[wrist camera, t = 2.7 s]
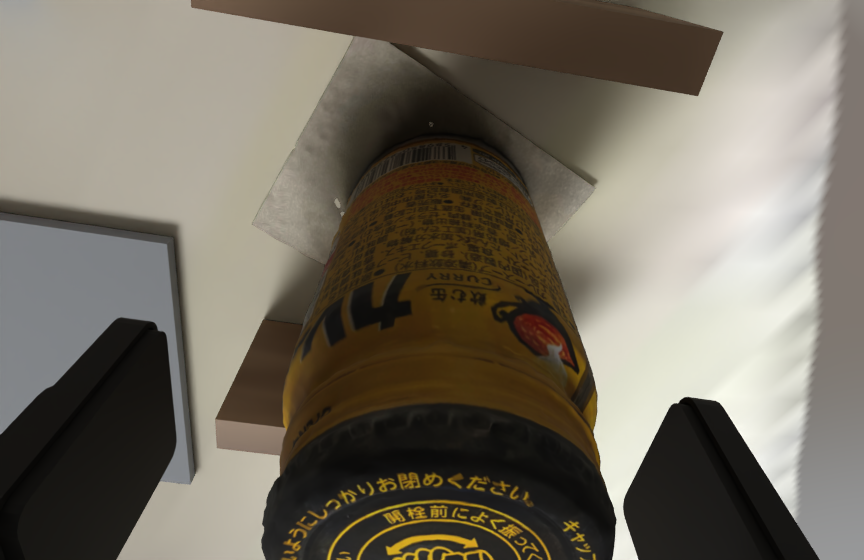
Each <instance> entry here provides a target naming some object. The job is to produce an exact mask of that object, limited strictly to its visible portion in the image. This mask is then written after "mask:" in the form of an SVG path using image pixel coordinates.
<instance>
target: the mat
mask: <svg viewBox="0 0 864 560" xmlns="http://www.w3.org/2000/svg"><path fill="white" fill-rule="evenodd" d="M120 317H123V318H130V319H137V320H144V321H151V322H154V323H155V324H156V325H157V328H158V331H163V332H165V334H166V336H167V343H168V353H169V363H170V374H171V384H172V394H173V405H174V415H175V425H176V436H177V443H176V449H175V452H174V455H173V458H172V460H171V462H170V464H169V465H168V467H167V469H166V471H165V473H164V474H163V476H162V478H161V480H160V481H164V482H173V483H182V484H191V482H192V480H193V478H194V476H195V471H194V460H193V449H192V438H191V427H190V416H189V405H188V394H187V383H186V372H185V361H184V350H183V339H182V328H181V317H180V306H179V295H178V284H177V273H176V262H175V251H174V240H173V237H168V236H161V235H154V234H147V233H140V232H133V231H126V230H119V229H113V228H106V227H99V226H92V225H85V224H78V223H71V222H64V221H57V220H51V219H44V218H37V217H30V216H23V215H16V214H9V213H2V212H0V435H1V434H2V433H3V431H4V430H5V429H6V428H7V427H8V426H9V425H10V424H11V423H12V422H13V421H14V420H15V419H16V418H17V417H18V416H19V415H20V414H21V413H22V411H23V410H24V409H25V408H26V407H27V406H28V405H29V404H30V403H31V402H32V401H33V400H34V399H35V398H36V397H37V396H38V395H39V394H40V393H41V392H42V391H44V390H45V389H46V388H48V387H51V386H53V385H54V384H55V383H56V382H57V381H58V380H59V379H60V378H61V377H62V376H63V375H64V374H65V373H66V372H67V370H68V369H69V368H70V367H71V366H72V365H73V364H74V363H75V362H76V361H77V360H78V359H79V358H80V357H81V355H82V354H83V353H84V352H85V351H86V350H87V349H88V348H89V347H90V346H91V345H92V344H93V343H94V342H95V341H96V339H97V338H98V337H99V336H100V335H101V334H102V333H103V332H104V331H105V330H106V329H107V328H108V327H109V326H110V324H111V323H112V322H113V321H115V320H116V319H117V318H120Z"/></svg>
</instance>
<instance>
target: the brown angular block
mask: <svg viewBox="0 0 864 560" xmlns="http://www.w3.org/2000/svg"><path fill="white" fill-rule="evenodd" d="M191 7H192V8H198V9H204V10H209V11H215V12H221V13H226V14H232V15H238V16H244V17H249V18H255V19H261V20H266V21H272V22H278V23H284V24H289V25H295V26H301V27H306V28H312V29H318V30H323V31H329V32H335V33H341V34H346V35H352V36H358V37H363V38H369V39H375V40H381V41H386V42H392V43H398V44H403V45H409V46H415V47H420V48H426V49H432V50H438V51H443V52H449V53H455V54H460V55H466V56H472V57H478V58H483V59H489V60H495V61H500V62H506V63H512V64H517V65H523V66H529V67H535V68H540V69H546V70H552V71H557V72H563V73H569V74H575V75H580V76H586V77H592V78H597V79H603V80H609V81H614V82H620V83H626V84H632V85H637V86H643V87H649V88H654V89H660V90H666V91H672V92H677V93H683V94H689V95H694V96H698V95H699V92H700V90H701V87H702V85H703V82H704V80H705V77H706V75H707V72H708V70H709V67H710V65H711V62H712V60H713V57H714V55H715V52H716V50H717V47H718V45H719V42H720V40H721V37H722V34H723V32H722V31H719V30H715V29H711V28H708V27H704V26H701V25H697V24H693V23H690V22H686V21H683V20H679V19H676V18H672V17H668V16H665V15H661V14H658V13H654V12H651V11H647V10H643V9H639V8H634V7H629V6H623V5H618V4H612V3H607V2H602V1H596V0H191ZM302 328H303V325H299V324H292V323H285V322H277V321H270V320H263V321H262V323H261V325H260V327H259V329H258V331H257V333H256V336H255V338H254V340H253V342H252V344H251V346H250V348H249V350H248V352H247V354H246V356H245V358H244V361H243V363H242V365H241V367H240V369H239V371H238V373H237V375H236V377H235V379H234V381H233V384H232V386H231V388H230V390H229V392H228V394H227V396H226V398H225V400H224V402H223V404H222V406H221V409H220V411H219V413H218V415H217V417H216V419H215V423H216V440H217V448H220V449H229V450H237V451H246V452H254V453H263V454H271V455H279V456H280V454H281V451H282V443H283V438H284V436H285V434H286V428H285V426H284V424H283V411H282V399H283V390H284V382H285V378H286V375H287V372H288V369H289V366H290V362H291V359H292V356H293V353H294V350H295V345H296V343H297V341H298V339H299V337H300V334H301V331H302Z"/></svg>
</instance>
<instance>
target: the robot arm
mask: <svg viewBox="0 0 864 560" xmlns="http://www.w3.org/2000/svg"><path fill="white" fill-rule="evenodd" d="M176 443H177V436H176V425H175V415H174V405H173V394H172V384H171V374H170V363H169V353H168V343H167V336H166V334H165V332H163V331H158V328H157V325H156V324H155V323H154V322H151V321H144V320H137V319H130V318H123V317H120V318H117V319H116V320H115V321H113V322H112V323H111V324H110V326H109V327H108V328H107V329H106V330H105V331H104V332H103V333H102V334H101V335H100V336H99V337H98V338H97V339H96V341H95V342H94V343H93V344H92V345H91V346H90V347H89V348H88V349H87V350H86V351H85V352H84V353H83V354H82V355H81V357H80V358H79V359H78V360H77V361H76V362H75V363H74V364H73V365H72V366H71V367H70V368H69V369H68V370H67V372H66V373H65V374H64V375H63V376H62V377H61V378H60V379H59V380H58V381H57V382H56V383H55V384H54V385H53V386H51V387H48V388H46V389H45V390H44V391H42V392H41V393H40V394H39V395H38V396H37V397H36V398H35V399H34V400H33V401H32V402H31V403H30V404H29V405H28V406H27V407H26V408H25V409H24V410H23V411H22V413H21V414H20V415H19V416H18V417H17V418H16V419H15V420H14V421H13V422H12V423H11V424H10V425H9V426H8V427H7V428H6V429H5V430H4V431H3V433H2V434H1V435H0V560H116V559H117V557H118V556H119V554H120V552H121V550H122V548H123V547H124V545H125V543H126V541H127V539H128V537H129V536H130V534H131V532H132V530H133V528H134V527H135V525H136V523H137V521H138V519H139V518H140V516H141V514H142V512H143V510H144V509H145V507H146V505H147V503H148V501H149V500H150V498H151V496H152V494H153V492H154V491H155V489H156V487H157V485H158V483H159V482H160V480H161V478H162V476H163V474H164V473H165V471H166V469H167V467H168V465H169V464H170V462H171V460H172V458H173V455H174V452H175V449H176ZM623 510H624V516H625V519H626V523H627V526H628V529H629V532H630V535H631V538H632V541H633V544H634V547H635V550H636V553H637V556H638V559H639V560H819V558H818V556H817V555H816V553H815V552H814V550H813V548H812V547H811V546H810V544H809V542H808V541H807V539H806V537H805V536H804V534H803V533H802V531H801V530H800V528H799V526H798V525H797V523H796V522H795V520H794V518H793V517H792V515H791V514H790V512H789V511H788V509H787V507H786V506H785V504H784V503H783V501H782V500H781V498H780V496H779V495H778V493H777V492H776V490H775V488H774V487H773V485H772V484H771V482H770V481H769V479H768V477H767V476H766V474H765V473H764V471H763V470H762V468H761V466H760V465H759V463H758V462H757V460H756V459H755V457H754V455H753V454H752V452H751V451H750V449H749V447H748V446H747V444H746V443H745V441H744V440H743V438H742V436H741V435H740V433H739V432H738V430H737V429H736V427H735V425H734V424H733V422H732V421H731V419H730V417H729V416H728V414H727V413H726V411H725V410H724V408H723V407H722V405H721V404H720V403H718V402H716V401H712V400H705V399H698V398H691V397H684V398H683V399H681V400H680V402H679V403H675V404H673V405H671V407H670V408H669V410H668V412H667V414H666V416H665V418H664V420H663V422H662V424H661V426H660V428H659V430H658V432H657V434H656V436H655V438H654V440H653V442H652V444H651V446H650V448H649V450H648V452H647V454H646V456H645V458H644V460H643V462H642V464H641V466H640V468H639V470H638V472H637V474H636V476H635V478H634V480H633V481H632V483H631V485H630V487H629V489H628V491H627V493H626V496H625V498H624V504H623Z"/></svg>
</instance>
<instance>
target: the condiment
mask: <svg viewBox="0 0 864 560" xmlns="http://www.w3.org/2000/svg"><path fill="white" fill-rule="evenodd" d="M429 122H433V123H434V124H433V127H430V126H429ZM595 189H596V188H595V187H593V186H592V185H591V184H589V183H588V182H586V181H585V180H584V179H582V178H581V177H579V176H578V175H577V174H575V173H574V172H572V171H571V170H570V169H568V168H567V167H565V166H564V165H563V164H561V163H560V162H559V161H557V160H556V159H554V158H553V157H552V156H550V155H549V154H547V153H546V152H544V151H543V150H541V149H540V148H539V147H537V146H536V145H535V144H533V143H532V142H531V141H529V140H528V139H526V138H525V137H523V136H522V135H521V134H519V133H518V132H517V131H515V130H513V129H512V128H510V127H509V126H508V125H506V124H505V123H504V122H502V121H501V120H499V119H498V118H496V117H495V116H493V115H492V114H490V113H489V112H488V111H486V110H485V109H484V108H482V107H481V106H479V105H478V104H476V103H474V102H473V101H471V100H470V99H468V98H467V97H466V96H464V95H463V94H461V93H460V92H458V91H457V90H456V89H455V88H453V87H452V86H451V85H449V84H448V83H446V82H445V81H444V80H442V79H441V78H439V77H438V76H437V75H435V74H434V73H432V72H431V71H430V70H428V69H427V68H426V67H424V66H423V65H421V64H420V63H418V62H417V61H415V60H414V59H412V58H411V57H409V56H408V55H406V54H405V53H403V52H402V51H400V50H399V49H397V48H396V47H394V46H393V45H392V44H390V43H389V42H386V41H381V40H375V39H369V38H363V37H358V36H355V37H354V39H353V41H352V42H351V44H350V46H349V49H348V51H347V52H346V54H345V56H344V58H343V59H342V61H341V63H340V65H339V67H338V68H337V70H336V72H335V74H334V76H333V78H332V79H331V81H330V83H329V85H328V87H327V89H326V90H325V92H324V95H323V96H322V98H321V99H320V101H319V103H318V105H317V107H316V109H315V110H314V112H313V114H312V116H311V118H310V120H309V121H308V123H307V125H306V127H305V129H304V130H303V132H302V134H301V136H300V138H299V139H298V141H297V143H296V145H295V148H294V149H293V150H292V152H291V154H290V156H289V158H288V159H287V161H286V163H285V165H284V167H283V169H282V171H281V172H280V174H279V176H278V177H277V179H276V181H275V183H274V185H273V187H272V189H271V190H270V192H269V194H268V196H267V198H266V199H265V201H264V203H263V205H262V207H261V208H260V210H259V212H258V214H257V216H256V218H255V219H254V221H253V223H252V225H253V226H255V227H257V228H258V229H260V230H262V231H264V232H266V233H267V234H269V235H270V236H272V237H274V238H275V239H277V240H279V241H281V242H283V243H285V244H288V245H290V246H291V247H293V248H295V249H297V250H298V251H299V252H301V253H302V254H304V255H305V256H307V257H310V258H312V259H315V260H317V261H318V262H320V263H322V264H323V265H325V267H324V270H323V273H322V277H321V279H320V282H319V285H318V288H317V290H316V293H315V296H314V299H313V301H312V303H311V304H310V306H309V308H308V311H307V314H306V316H305V319H304V323H303V328H302V331H301V334H300V337H299V339H298V341H297V343H296V345H295V350H294V353H293V356H292V359H291V362H290V366H289V369H288V372H287V375H286V378H285V382H284V390H283V399H282V411H283V424H284V426H285V428H286V434H285V436H284V438H283V443H282V451H281V454H280V477H279V478H277V479H276V481H275V482H274V484H273V486H272V488H271V490H270V492H269V494H268V497H267V502H266V503H267V506H266V508H265V511H264V517H263V523H262V525H263V526H264V534H263V537H262V540H261V543H262V550H263V553H264V556H265V558H266V560H612V557H613V551H614V542H615V525H616V517H615V513H614V507H613V505H612V502H611V500H610V498H609V495H608V492H607V488H606V485H605V482H604V479H603V477H602V475H601V472H600V455H599V451H598V448H597V443H596V441H595V439H594V433H593V430H594V427H595V422H596V416H597V391H596V386H595V381H594V377H593V373H592V370H591V367H590V364H589V361H588V358H587V355H586V351H585V349H584V346H583V343H582V340H581V337H580V335H579V332H578V329H577V326H576V324H575V321H574V318H573V315H572V313H571V309H570V306H569V303H568V299H567V297H566V295H565V292H564V289H563V286H562V283H561V279H560V277H559V274H558V272H557V270H556V267H555V264H554V261H553V258H552V255H551V251H550V249H549V247H548V244H547V242H548V241H549V240H550V239H551V238H552V237H553V236H554V235H555V234H556V233H557V232H558V231H559V230H560V228H561V227H562V226H563V225H565V224H566V222H567V221H568V220H569V219H570V218H571V216H572V215H573V214H574V213H575V212H576V211H577V210H578V209H579V208H580V206H581V205H582V204H583V203H584V202H585V201H586V200H587V198H588V197H589V196H590V195H591V194H592V193H593V191H594V190H595ZM336 198H338V200H339V202H340V204H341V208H337V207H336V205H335V203H334V201H335V199H336ZM342 211H343V212H345V213H344V215H343V217H342V218H341V214H340V213H341V212H342Z"/></svg>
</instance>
